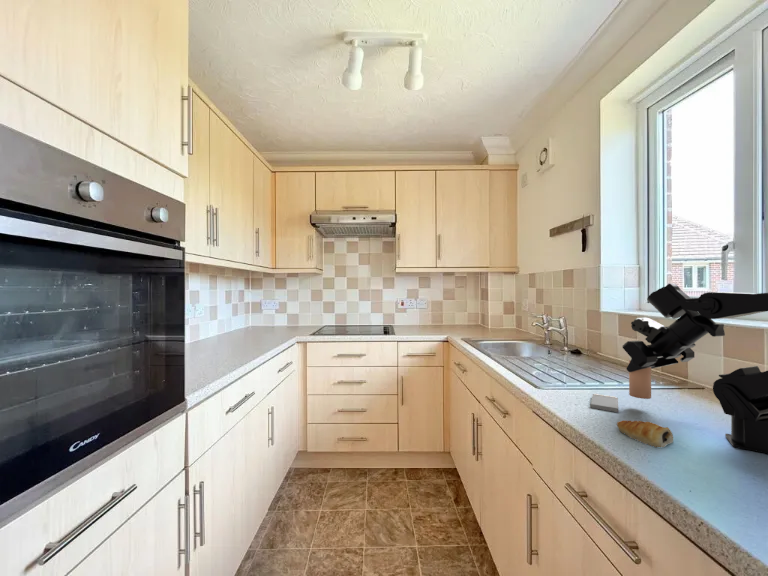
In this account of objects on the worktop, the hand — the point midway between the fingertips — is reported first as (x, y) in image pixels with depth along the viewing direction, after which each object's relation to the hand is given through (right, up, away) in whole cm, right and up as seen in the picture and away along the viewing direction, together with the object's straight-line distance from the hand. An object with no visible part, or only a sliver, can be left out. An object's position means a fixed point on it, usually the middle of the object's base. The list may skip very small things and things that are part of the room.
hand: (634, 369), depth 90 cm
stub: (0, -7, -1) cm, 7 cm away
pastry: (-11, -11, -18) cm, 24 cm away
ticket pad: (-6, -10, +2) cm, 12 cm away
